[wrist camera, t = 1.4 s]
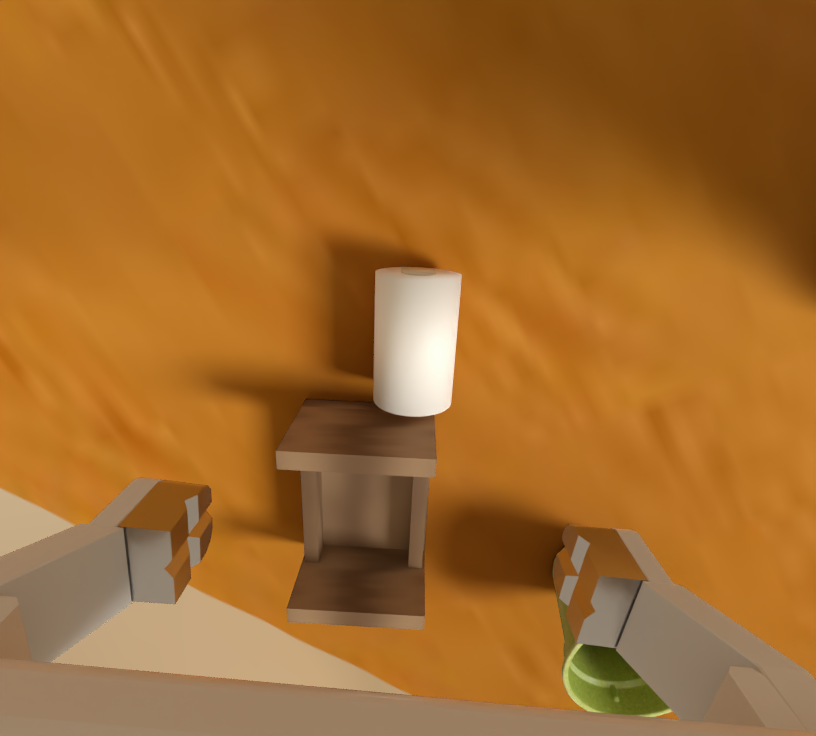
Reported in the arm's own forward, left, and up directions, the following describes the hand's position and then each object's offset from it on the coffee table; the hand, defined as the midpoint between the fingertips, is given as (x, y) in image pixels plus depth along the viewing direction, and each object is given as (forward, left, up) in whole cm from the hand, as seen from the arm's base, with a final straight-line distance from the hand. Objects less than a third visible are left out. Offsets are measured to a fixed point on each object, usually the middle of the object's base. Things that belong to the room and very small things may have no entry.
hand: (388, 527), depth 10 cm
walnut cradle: (+3, +13, -20) cm, 24 cm away
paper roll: (0, +1, -20) cm, 20 cm away
